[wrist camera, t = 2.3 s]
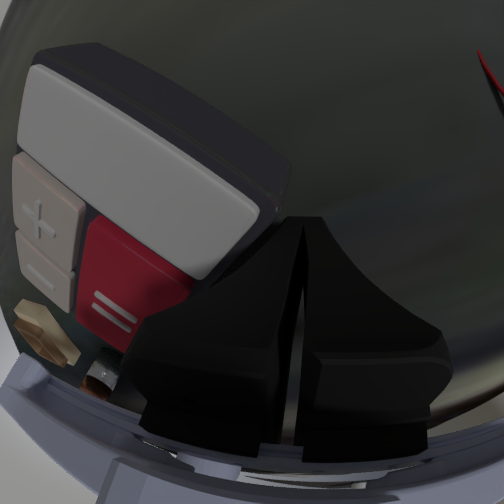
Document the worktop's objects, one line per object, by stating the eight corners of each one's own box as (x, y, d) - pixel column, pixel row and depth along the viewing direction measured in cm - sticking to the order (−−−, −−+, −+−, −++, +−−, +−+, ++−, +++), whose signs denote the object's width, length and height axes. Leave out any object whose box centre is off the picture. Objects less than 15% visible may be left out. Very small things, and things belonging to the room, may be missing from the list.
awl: (130, 367, 24) (106, 419, 19) (109, 361, 25) (84, 409, 20) (118, 351, 22) (89, 406, 17) (96, 344, 23) (67, 395, 18)
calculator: (15, 274, 13) (19, 51, 4) (50, 238, 17) (94, 39, 8) (137, 367, 16) (284, 223, 7) (161, 320, 19) (297, 164, 10)
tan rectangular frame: (81, 353, 26) (69, 373, 24) (55, 343, 27) (44, 360, 25) (45, 306, 22) (29, 327, 19) (22, 298, 23) (8, 317, 20)
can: (347, 482, 63) (344, 511, 54) (362, 480, 59) (359, 510, 50) (361, 482, 64) (358, 510, 55) (375, 480, 60) (373, 508, 51)
